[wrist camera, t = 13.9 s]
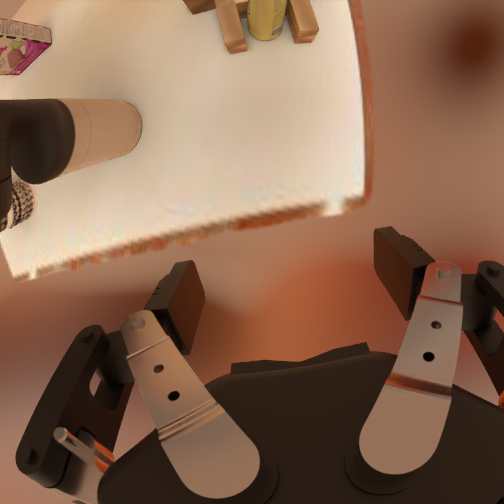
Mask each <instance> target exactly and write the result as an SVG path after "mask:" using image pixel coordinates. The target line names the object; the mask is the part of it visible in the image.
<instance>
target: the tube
mask: <svg viewBox="0 0 504 504" xmlns="http://www.w3.org/2000/svg"><path fill="white" fill-rule="evenodd" d="M285 7H286V0H248V15H247V17H248V30H249V32H250V34H251V35H252V36H253V37H255V38H257V39H259V40H271V39H274V38H276V37H277V36H278V35H279V34H280V33H281V30H282V26H283V21H284V15H285Z"/></svg>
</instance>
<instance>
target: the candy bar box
mask: <svg viewBox="0 0 504 504" xmlns="http://www.w3.org/2000/svg"><path fill="white" fill-rule="evenodd" d="M51 44H52V40H51V32H50V29H48V28H45V27H41V26H36V25H32V24H28V23H23V22H18V21H12V20H7V19H0V75H20V73H21V72H22V71H23V70H24V69H25V68H26V67H27V66H28V65H29V64H30V63H31V62H32V61H33V60H34V59H36V58H37V57H38V56H39V55H40V54H41V53H42V52H43V51H44V50H45V49H47V48H48V47H49V46H50V45H51Z"/></svg>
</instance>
